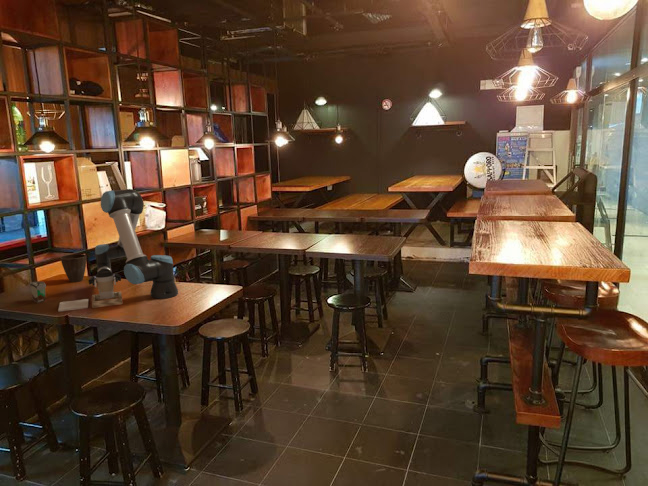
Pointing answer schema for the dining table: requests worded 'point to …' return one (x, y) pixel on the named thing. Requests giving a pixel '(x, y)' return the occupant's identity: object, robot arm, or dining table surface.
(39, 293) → the food container
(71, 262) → the plant pot
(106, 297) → the coffee cup
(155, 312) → the dining table surface
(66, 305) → the grey mat
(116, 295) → the cup holder
